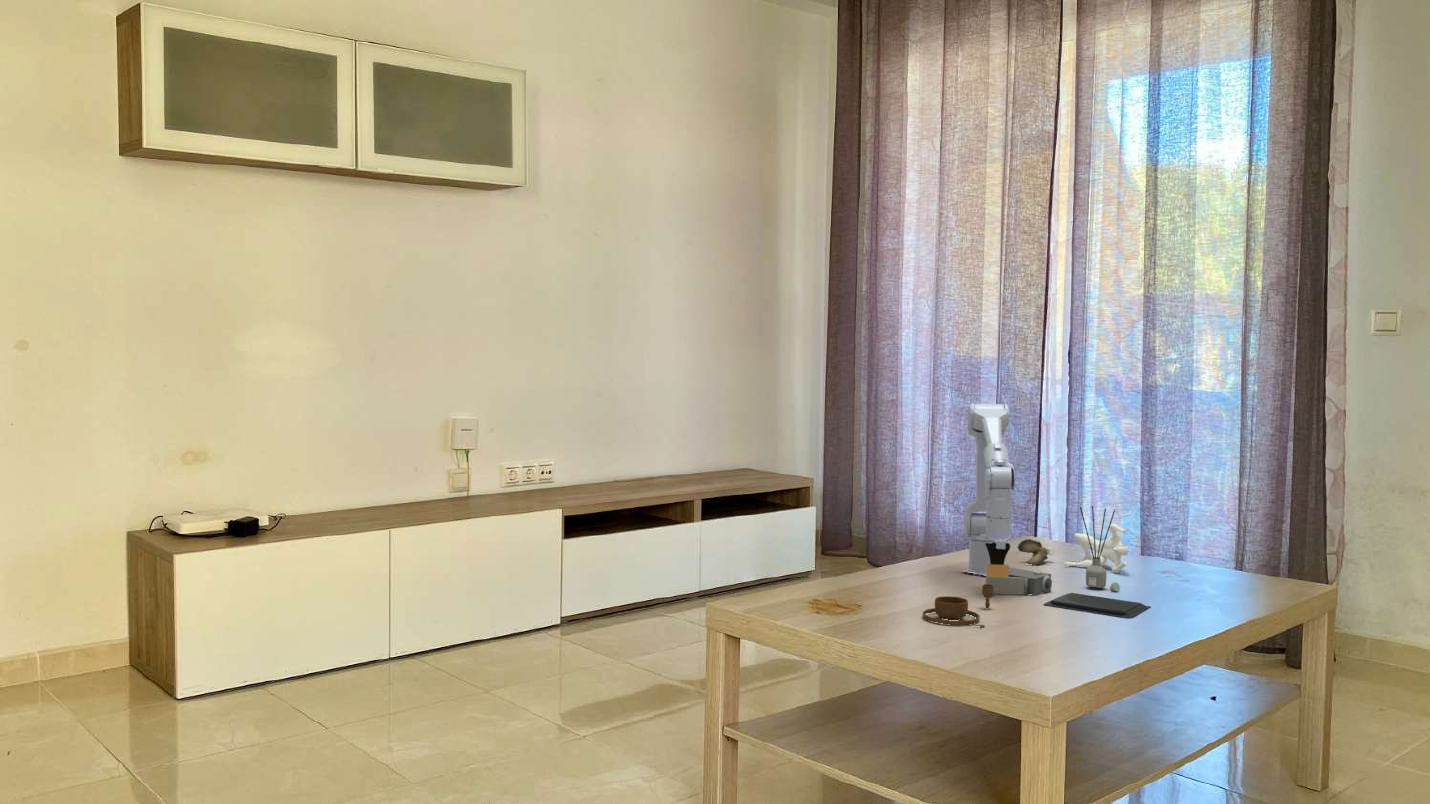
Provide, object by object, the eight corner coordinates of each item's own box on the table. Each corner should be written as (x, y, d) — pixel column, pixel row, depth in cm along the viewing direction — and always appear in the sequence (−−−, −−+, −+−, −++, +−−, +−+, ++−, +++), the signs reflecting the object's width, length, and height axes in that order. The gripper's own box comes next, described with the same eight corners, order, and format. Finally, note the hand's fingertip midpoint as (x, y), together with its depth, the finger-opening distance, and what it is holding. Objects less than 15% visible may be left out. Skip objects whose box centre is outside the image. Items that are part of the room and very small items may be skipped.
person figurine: (1058, 525, 298) (1125, 521, 286) (1077, 530, 307) (1143, 526, 295) (1061, 574, 294) (1128, 572, 283) (1080, 578, 304) (1146, 576, 292)
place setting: (907, 613, 244) (907, 587, 244) (988, 609, 249) (989, 583, 249) (944, 633, 227) (945, 605, 227) (1030, 628, 232) (1031, 600, 232)
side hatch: (985, 592, 263) (986, 563, 262) (1027, 593, 262) (1027, 565, 261) (986, 593, 261) (987, 564, 261) (1027, 594, 261) (1028, 566, 260)
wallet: (1040, 599, 251) (1067, 588, 263) (1040, 607, 251) (1067, 596, 263) (1129, 614, 238) (1153, 602, 250) (1129, 622, 238) (1153, 610, 250)
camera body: (1005, 582, 275) (1005, 564, 274) (1053, 591, 266) (1054, 572, 266) (989, 587, 269) (989, 569, 268) (1037, 596, 260) (1038, 577, 260)
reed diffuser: (1074, 587, 270) (1076, 506, 269) (1083, 583, 276) (1085, 503, 275) (1116, 593, 264) (1119, 510, 263) (1125, 588, 270) (1127, 506, 269)
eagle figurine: (1026, 554, 308) (1010, 552, 301) (1041, 534, 306) (1026, 532, 299) (1046, 572, 303) (1030, 571, 297) (1061, 552, 301) (1046, 550, 294)
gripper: (978, 511, 269) (976, 566, 270) (983, 521, 255) (982, 579, 256) (1008, 512, 268) (1006, 568, 269) (1015, 522, 254) (1013, 581, 255)
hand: (996, 573), depth 262 cm, fingers closed, pressing on side hatch
